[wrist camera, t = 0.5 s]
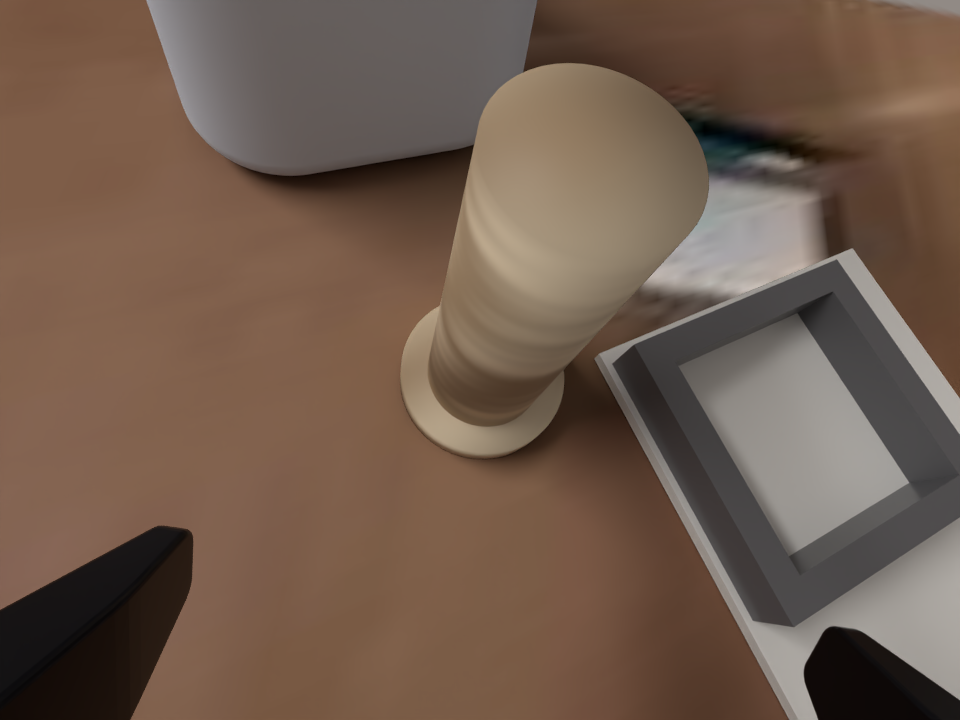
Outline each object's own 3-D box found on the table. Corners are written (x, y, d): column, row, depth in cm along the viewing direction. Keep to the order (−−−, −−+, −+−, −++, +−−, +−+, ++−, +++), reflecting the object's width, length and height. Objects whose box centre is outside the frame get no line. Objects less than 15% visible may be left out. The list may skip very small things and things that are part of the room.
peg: (582, 421, 23) (823, 248, 10) (439, 486, 21) (518, 372, 8) (514, 289, 24) (650, 0, 12) (375, 339, 22) (363, 60, 10)
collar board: (1091, 605, 23) (1179, 611, 21) (839, 811, 19) (910, 851, 17) (842, 254, 28) (890, 222, 25) (594, 358, 24) (619, 333, 21)
